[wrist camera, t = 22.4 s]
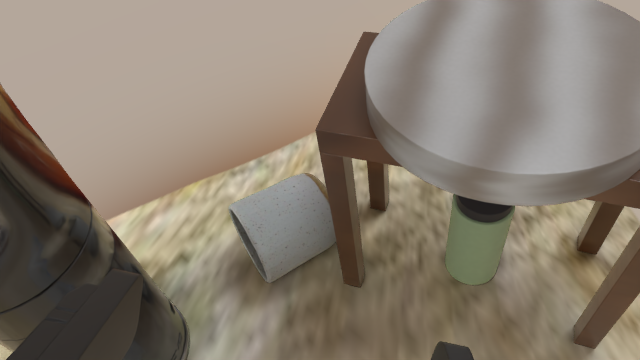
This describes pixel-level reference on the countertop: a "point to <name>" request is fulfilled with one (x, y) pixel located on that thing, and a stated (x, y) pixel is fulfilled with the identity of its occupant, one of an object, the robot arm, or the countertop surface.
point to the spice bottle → (476, 239)
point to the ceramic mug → (285, 224)
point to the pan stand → (496, 121)
